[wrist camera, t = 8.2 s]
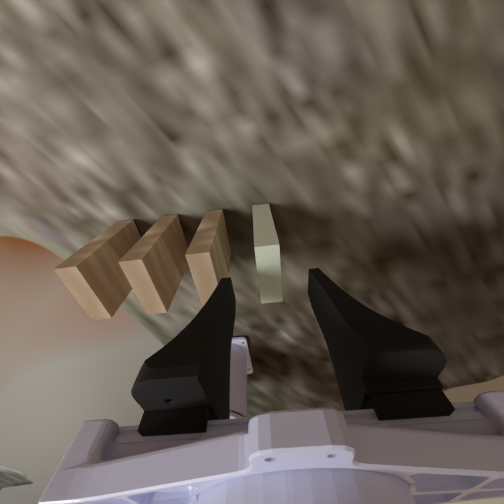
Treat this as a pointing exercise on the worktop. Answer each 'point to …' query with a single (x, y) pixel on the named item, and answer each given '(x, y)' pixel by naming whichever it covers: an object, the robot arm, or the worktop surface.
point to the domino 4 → (267, 254)
